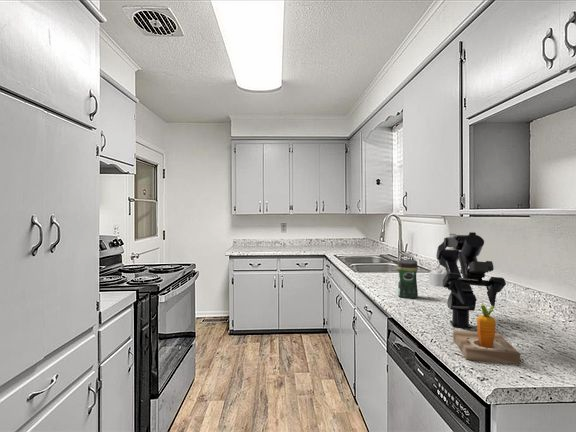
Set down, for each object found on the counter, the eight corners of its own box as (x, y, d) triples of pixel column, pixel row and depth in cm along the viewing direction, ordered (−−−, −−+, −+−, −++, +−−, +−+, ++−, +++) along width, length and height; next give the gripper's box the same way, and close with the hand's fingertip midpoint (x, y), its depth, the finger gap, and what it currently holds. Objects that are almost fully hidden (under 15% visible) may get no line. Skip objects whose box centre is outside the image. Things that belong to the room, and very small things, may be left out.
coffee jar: (416, 295, 193) (417, 259, 193) (418, 299, 186) (419, 261, 185) (396, 294, 195) (397, 258, 195) (398, 298, 188) (398, 260, 187)
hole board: (453, 339, 128) (453, 330, 128) (498, 342, 125) (498, 333, 125) (466, 359, 110) (466, 349, 110) (519, 364, 107) (519, 353, 107)
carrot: (494, 352, 116) (495, 303, 116) (495, 357, 112) (496, 306, 111) (476, 349, 118) (477, 301, 118) (477, 355, 114) (477, 305, 114)
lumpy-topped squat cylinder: (427, 283, 228) (428, 268, 227) (449, 283, 227) (449, 268, 227) (434, 286, 217) (434, 271, 217) (457, 286, 217) (457, 271, 217)
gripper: (449, 248, 128) (457, 289, 118) (506, 254, 127) (519, 295, 116) (439, 267, 136) (446, 306, 126) (493, 272, 135) (504, 312, 125)
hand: (478, 305), depth 123 cm, fingers open, 9 cm apart
